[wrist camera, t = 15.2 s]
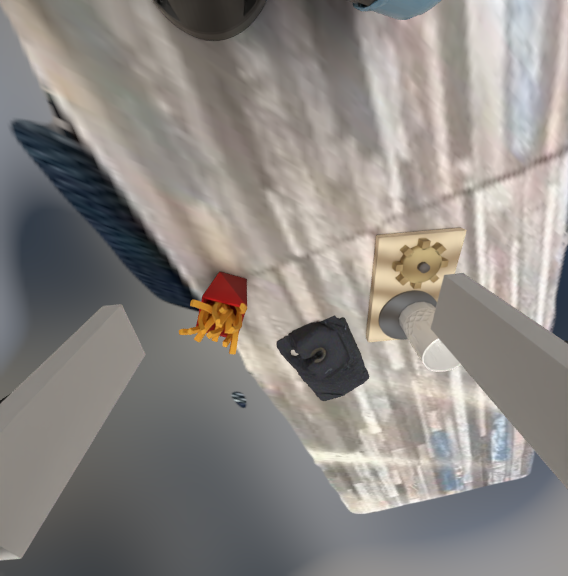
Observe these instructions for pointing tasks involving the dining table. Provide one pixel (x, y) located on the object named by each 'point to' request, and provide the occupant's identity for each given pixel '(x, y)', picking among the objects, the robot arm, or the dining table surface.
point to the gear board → (388, 274)
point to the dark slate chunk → (326, 357)
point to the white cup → (426, 337)
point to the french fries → (221, 310)
